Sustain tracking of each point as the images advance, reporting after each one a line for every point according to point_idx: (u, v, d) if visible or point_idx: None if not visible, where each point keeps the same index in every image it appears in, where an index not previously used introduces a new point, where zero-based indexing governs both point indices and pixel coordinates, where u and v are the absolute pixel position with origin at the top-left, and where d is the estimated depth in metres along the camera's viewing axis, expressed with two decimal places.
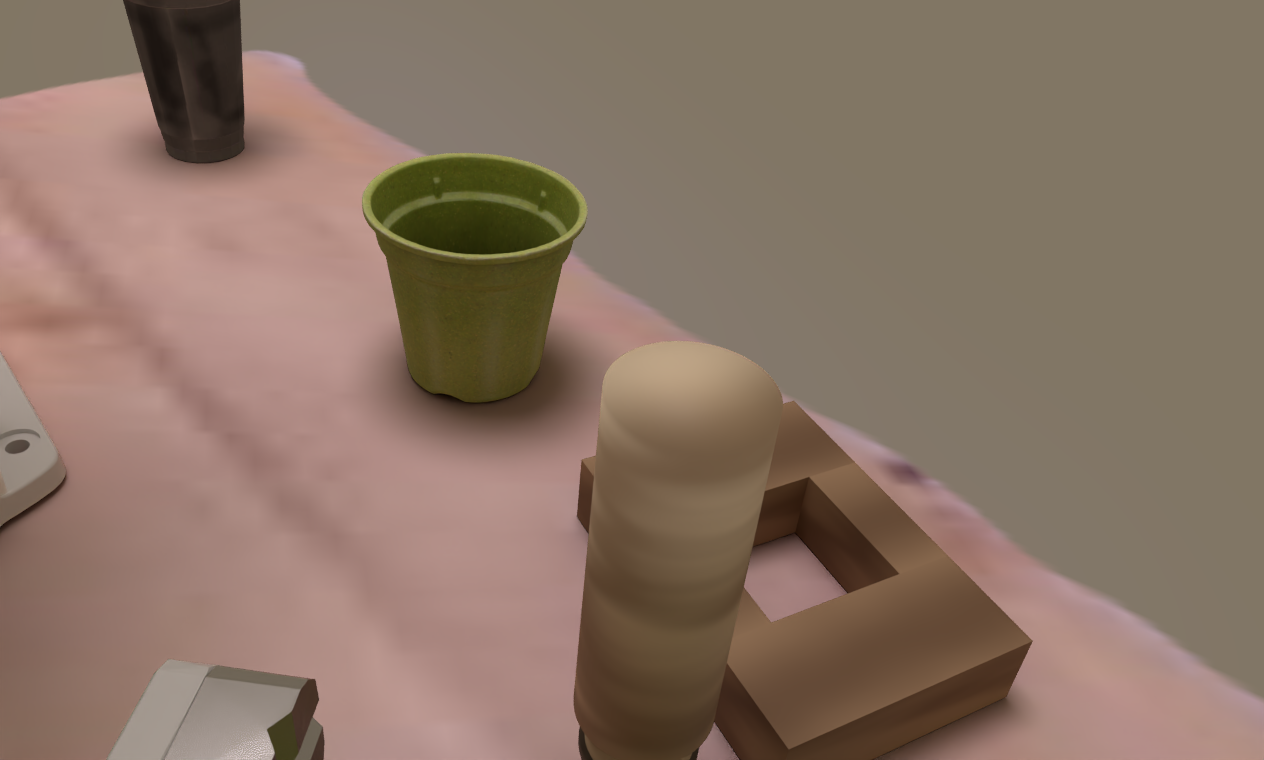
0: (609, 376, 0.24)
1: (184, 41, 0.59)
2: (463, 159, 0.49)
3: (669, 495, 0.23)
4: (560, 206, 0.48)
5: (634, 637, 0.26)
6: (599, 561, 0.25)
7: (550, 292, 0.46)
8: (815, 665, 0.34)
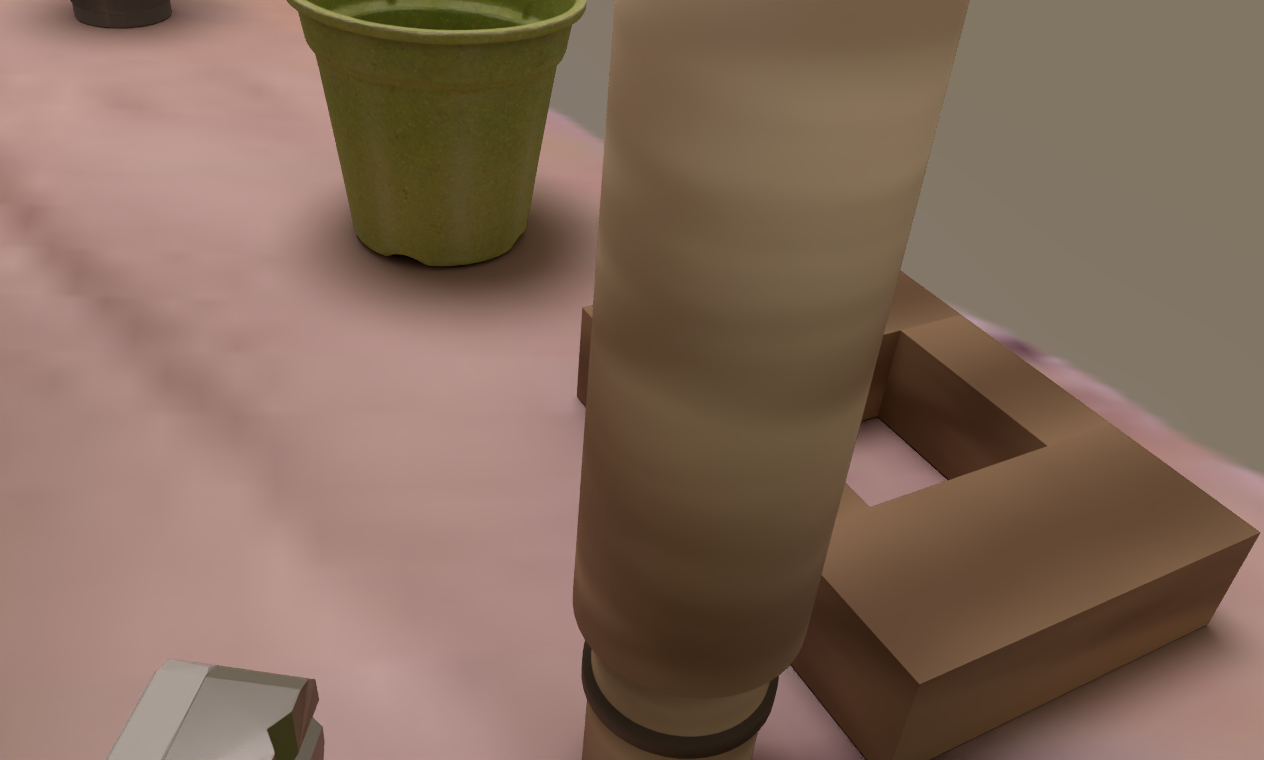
0: None
1: None
2: None
3: (763, 87, 0.11)
4: (551, 7, 0.37)
5: (683, 440, 0.14)
6: (617, 292, 0.14)
7: (538, 109, 0.35)
8: (943, 565, 0.22)
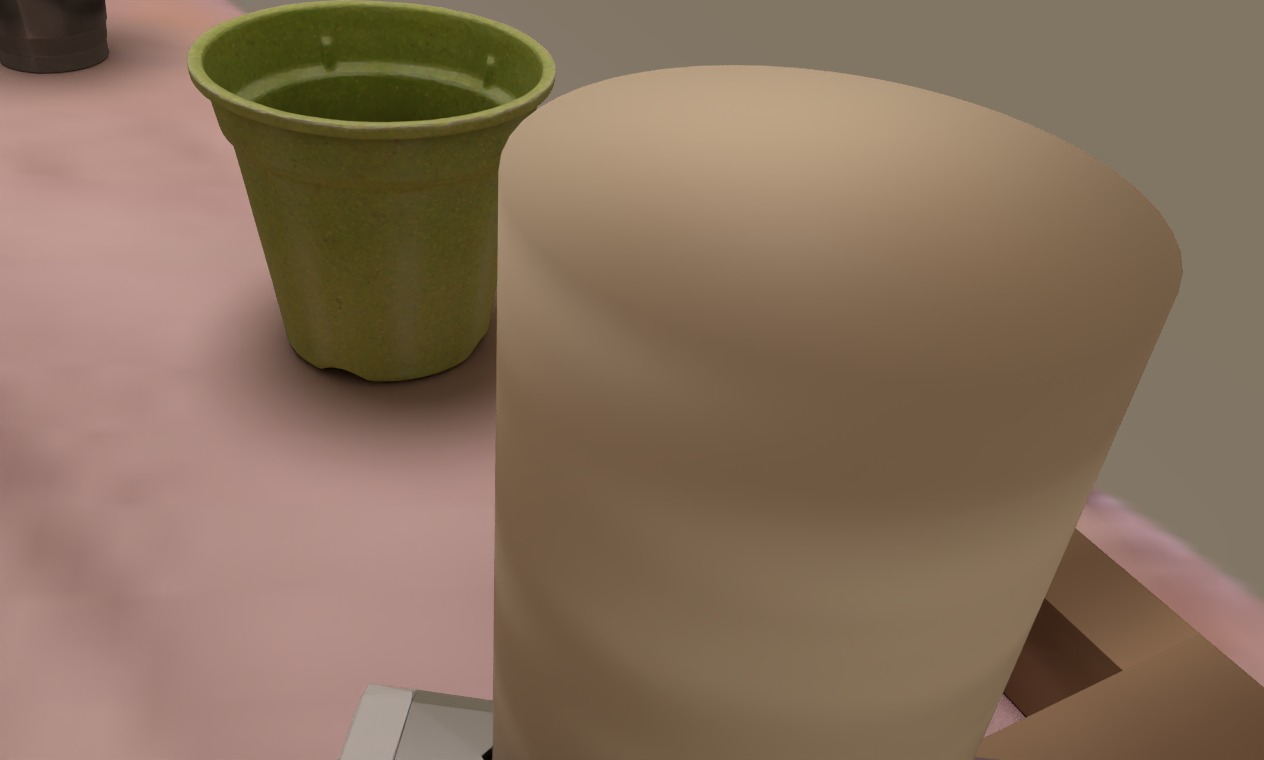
0: (531, 134, 0.07)
1: None
2: (367, 9, 0.32)
3: (761, 561, 0.06)
4: (516, 76, 0.31)
5: None
6: (518, 758, 0.08)
7: None
8: None
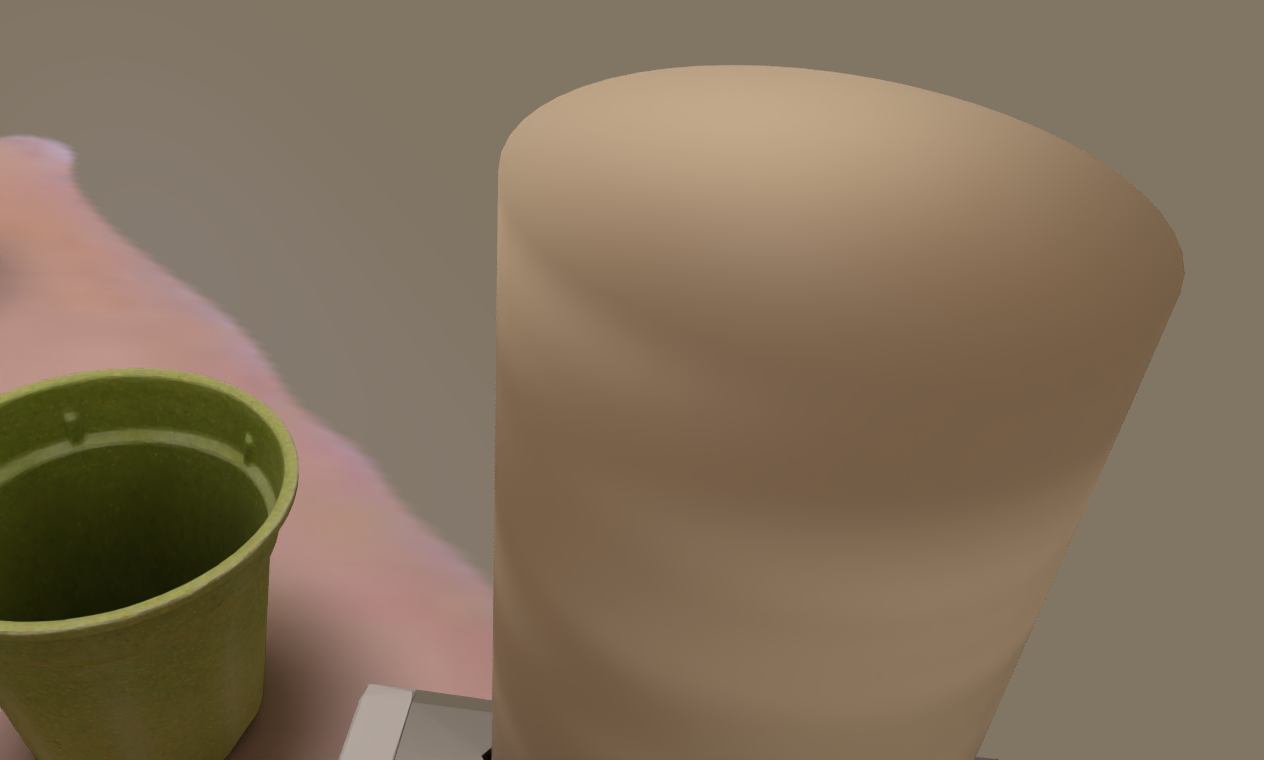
0: (530, 134, 0.07)
1: None
2: (116, 380, 0.29)
3: (762, 564, 0.06)
4: (272, 462, 0.29)
5: None
6: (518, 758, 0.08)
7: (234, 631, 0.27)
8: None
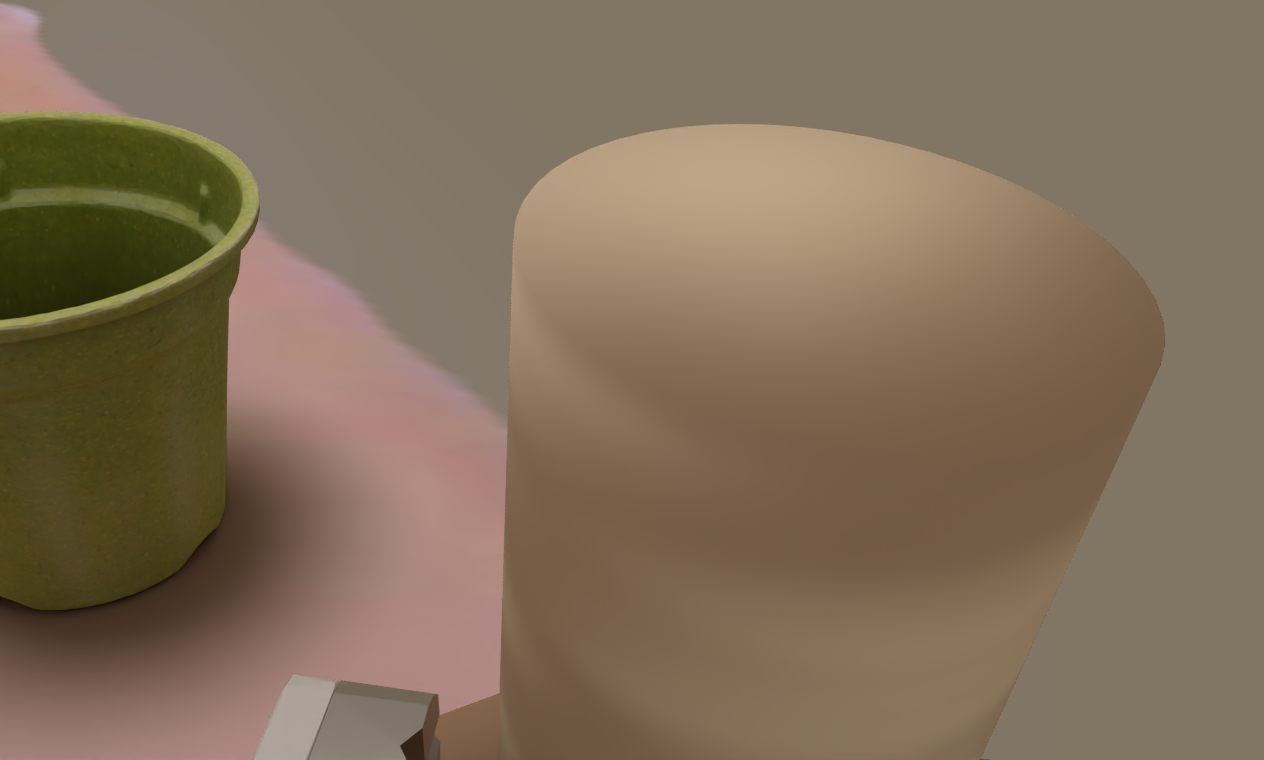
0: (544, 199, 0.07)
1: None
2: (48, 123, 0.25)
3: (762, 619, 0.06)
4: (231, 213, 0.24)
5: None
6: None
7: (182, 392, 0.22)
8: None
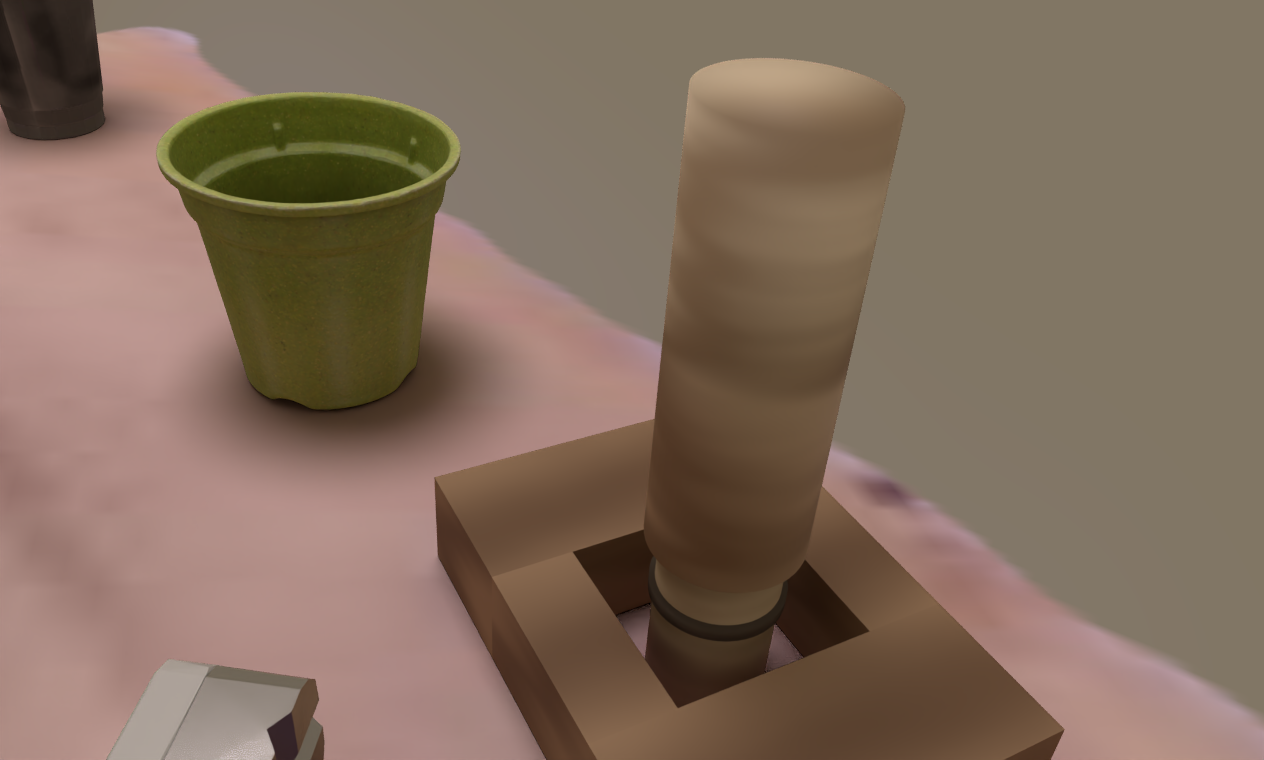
0: (696, 79, 0.20)
1: None
2: (311, 99, 0.38)
3: (774, 200, 0.19)
4: (433, 154, 0.38)
5: (725, 412, 0.22)
6: (682, 318, 0.22)
7: (414, 262, 0.35)
8: None
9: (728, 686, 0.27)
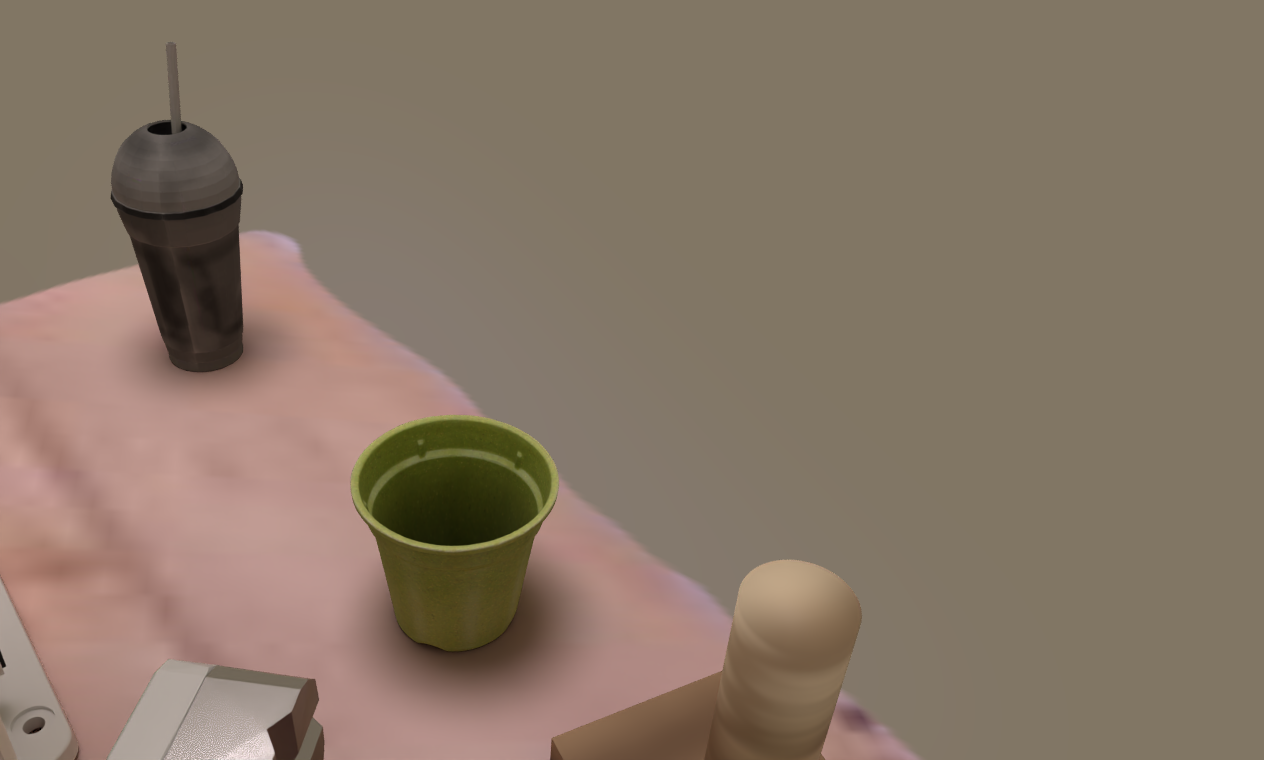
0: (742, 592, 0.35)
1: (187, 273, 0.64)
2: (445, 421, 0.53)
3: (786, 677, 0.34)
4: (535, 467, 0.52)
5: None
6: (730, 713, 0.36)
7: (525, 557, 0.50)
8: None
9: None
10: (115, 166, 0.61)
